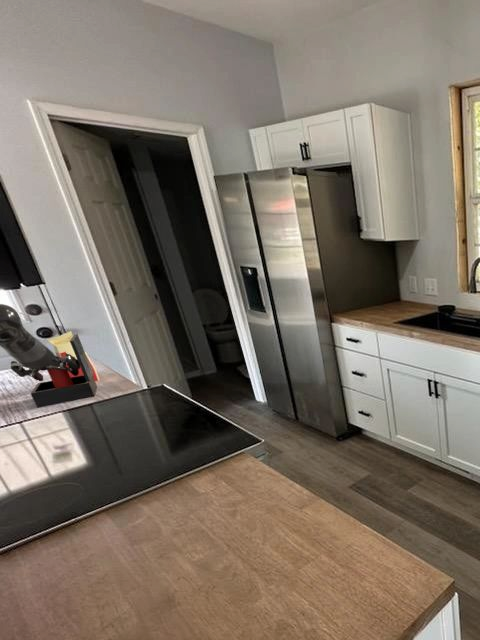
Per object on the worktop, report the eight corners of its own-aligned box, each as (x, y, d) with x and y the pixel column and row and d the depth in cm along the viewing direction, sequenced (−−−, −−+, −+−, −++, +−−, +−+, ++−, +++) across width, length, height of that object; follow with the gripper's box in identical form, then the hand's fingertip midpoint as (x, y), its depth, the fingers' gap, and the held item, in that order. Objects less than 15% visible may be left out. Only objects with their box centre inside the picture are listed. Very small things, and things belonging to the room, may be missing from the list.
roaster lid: (69, 341, 134) (73, 340, 135) (74, 334, 144) (77, 334, 145) (86, 381, 139) (89, 381, 140) (89, 372, 149) (92, 372, 149)
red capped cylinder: (59, 399, 139) (42, 362, 135) (61, 396, 142) (44, 359, 138) (77, 396, 142) (61, 359, 137) (78, 393, 145) (62, 357, 140)
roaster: (38, 410, 134) (30, 393, 131) (45, 398, 143) (37, 383, 141) (95, 398, 142) (88, 382, 140) (98, 388, 151) (91, 373, 149)
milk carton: (95, 377, 163) (75, 328, 156) (102, 382, 158) (81, 331, 151) (63, 384, 156) (40, 333, 149) (69, 389, 151) (45, 336, 144)
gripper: (60, 337, 130) (86, 362, 144) (-5, 344, 124) (29, 370, 137) (61, 357, 128) (87, 381, 141) (-5, 366, 121) (29, 390, 134)
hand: (59, 376), depth 139 cm, fingers open, 8 cm apart
